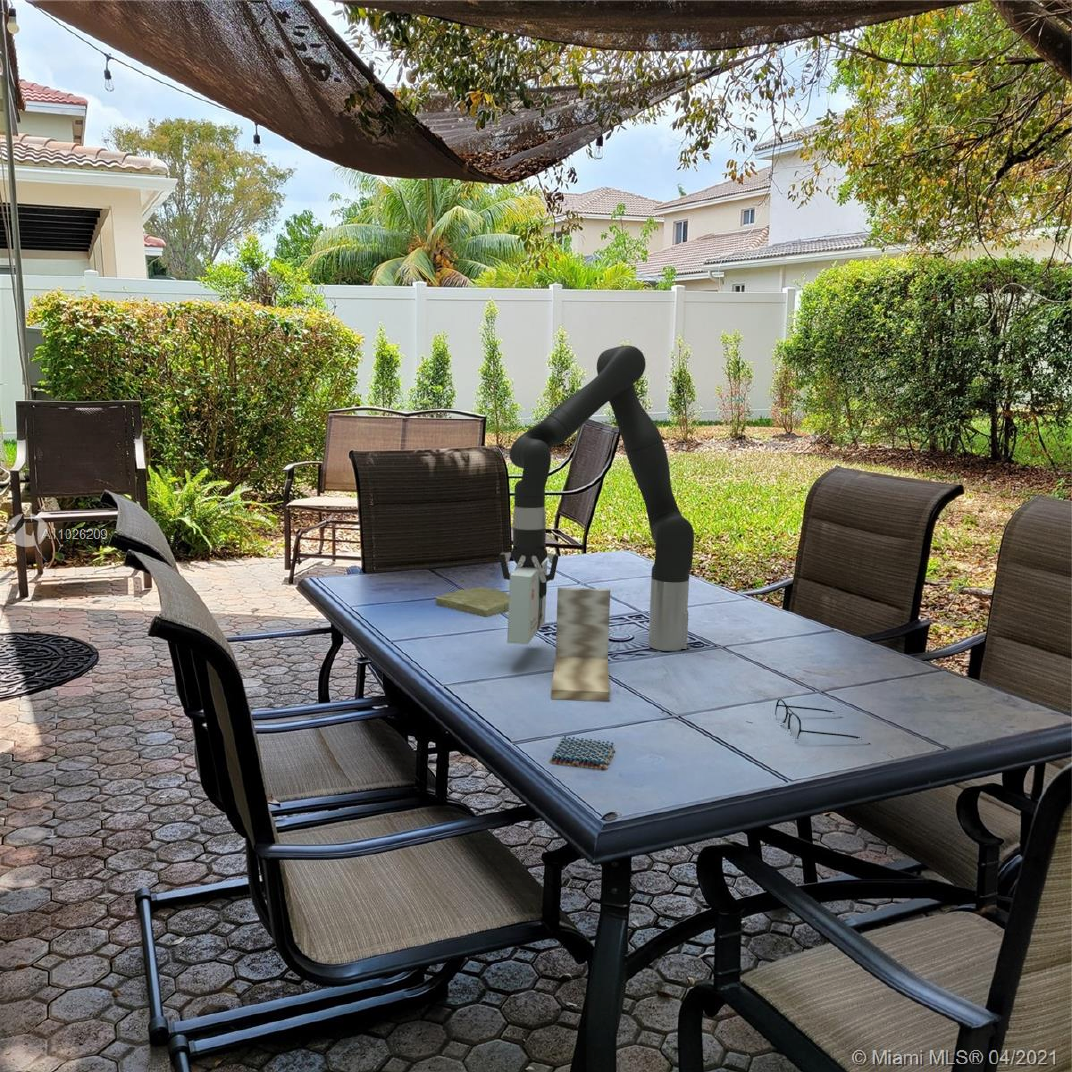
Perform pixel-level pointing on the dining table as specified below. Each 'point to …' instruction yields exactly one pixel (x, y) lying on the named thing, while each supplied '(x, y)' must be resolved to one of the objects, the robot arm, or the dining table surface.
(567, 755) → the woven mat
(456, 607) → the decorative tile
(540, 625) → the skincare box
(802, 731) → the glasses
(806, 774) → the dining table surface
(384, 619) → the dining table surface
